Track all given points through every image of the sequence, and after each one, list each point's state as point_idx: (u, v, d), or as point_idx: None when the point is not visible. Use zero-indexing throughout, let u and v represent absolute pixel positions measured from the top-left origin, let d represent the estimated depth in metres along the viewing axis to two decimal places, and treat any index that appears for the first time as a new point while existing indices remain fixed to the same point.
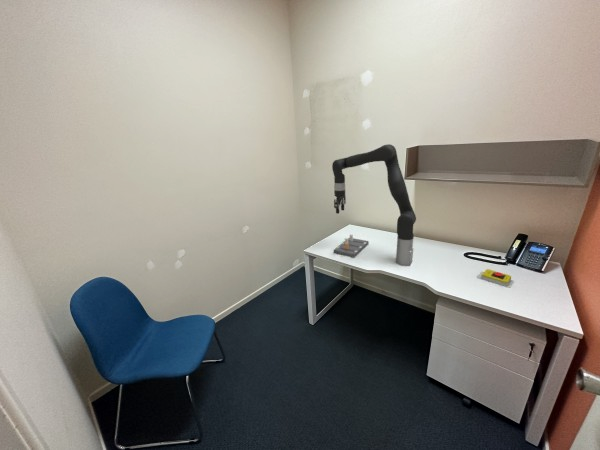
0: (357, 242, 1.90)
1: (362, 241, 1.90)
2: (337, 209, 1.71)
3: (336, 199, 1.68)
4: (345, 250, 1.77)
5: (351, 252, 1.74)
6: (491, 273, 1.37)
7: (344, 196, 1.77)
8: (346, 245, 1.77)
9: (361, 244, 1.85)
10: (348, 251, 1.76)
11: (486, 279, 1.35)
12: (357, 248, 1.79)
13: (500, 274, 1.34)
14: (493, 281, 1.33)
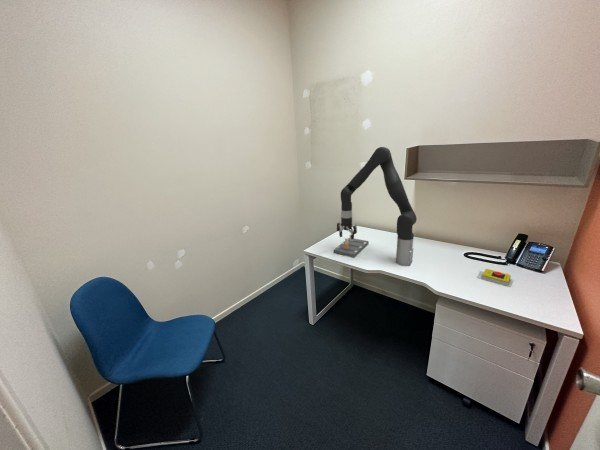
0: (357, 242, 1.90)
1: (362, 241, 1.90)
2: (353, 234, 1.72)
3: (355, 225, 1.69)
4: (345, 250, 1.77)
5: (351, 252, 1.74)
6: (491, 272, 1.38)
7: (340, 223, 1.77)
8: (346, 245, 1.77)
9: (361, 244, 1.85)
10: (348, 251, 1.76)
11: (487, 279, 1.35)
12: (357, 248, 1.79)
13: (500, 274, 1.34)
14: (493, 281, 1.33)
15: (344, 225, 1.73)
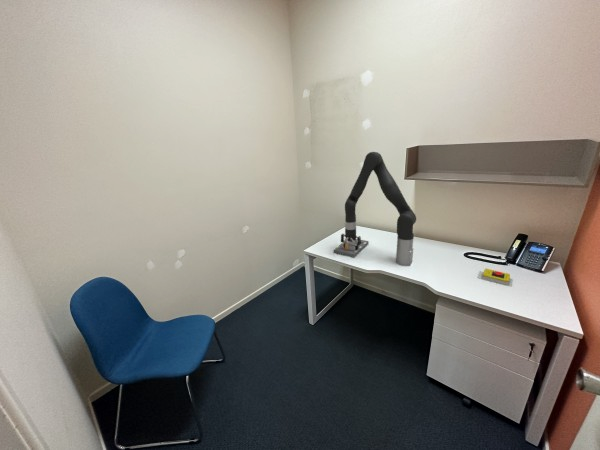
0: None
1: (362, 241, 1.90)
2: None
3: (359, 236, 1.70)
4: (345, 250, 1.77)
5: (351, 252, 1.74)
6: (491, 272, 1.38)
7: (344, 234, 1.77)
8: (346, 245, 1.77)
9: (361, 244, 1.85)
10: (348, 251, 1.76)
11: (487, 279, 1.35)
12: None
13: (500, 273, 1.34)
14: (494, 281, 1.33)
15: (348, 236, 1.73)
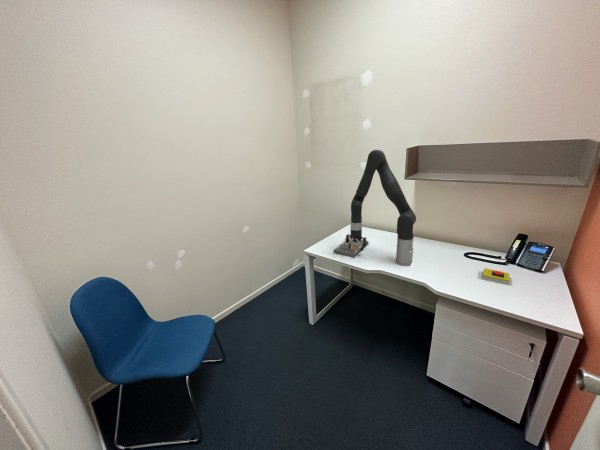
0: None
1: (362, 241, 1.90)
2: (363, 246, 1.71)
3: None
4: (345, 250, 1.77)
5: (351, 252, 1.74)
6: (490, 272, 1.38)
7: None
8: (351, 246, 1.75)
9: None
10: (348, 251, 1.76)
11: (488, 279, 1.35)
12: (357, 248, 1.79)
13: (500, 273, 1.35)
14: (495, 281, 1.34)
15: (353, 237, 1.71)
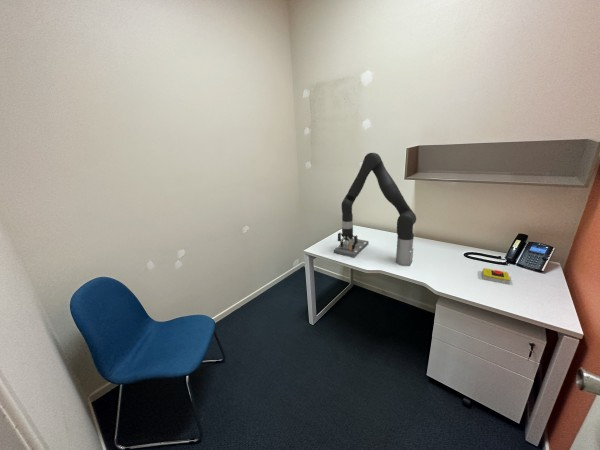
0: None
1: (362, 241, 1.90)
2: (354, 245, 1.74)
3: None
4: (345, 250, 1.77)
5: (351, 252, 1.74)
6: (490, 272, 1.39)
7: (340, 233, 1.79)
8: (351, 246, 1.75)
9: (361, 244, 1.85)
10: (348, 251, 1.76)
11: (488, 279, 1.35)
12: (357, 248, 1.79)
13: (500, 272, 1.35)
14: (495, 281, 1.34)
15: (345, 235, 1.74)
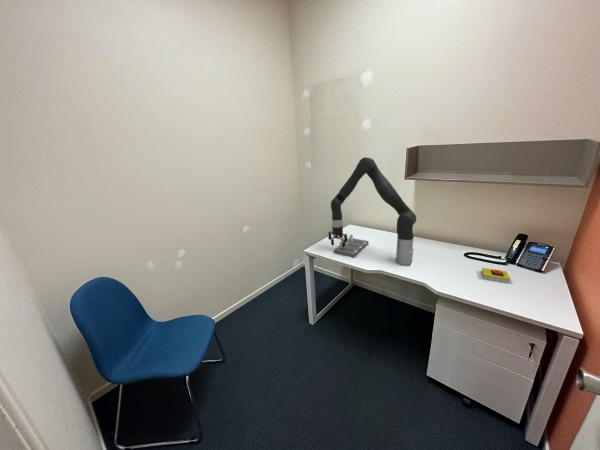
0: (357, 242, 1.90)
1: (362, 241, 1.90)
2: (344, 243, 1.78)
3: None
4: (345, 250, 1.77)
5: (351, 252, 1.74)
6: (489, 271, 1.39)
7: None
8: (341, 244, 1.79)
9: (361, 244, 1.85)
10: (348, 251, 1.76)
11: (489, 279, 1.36)
12: (357, 248, 1.79)
13: (499, 271, 1.36)
14: (496, 280, 1.34)
15: (335, 234, 1.79)
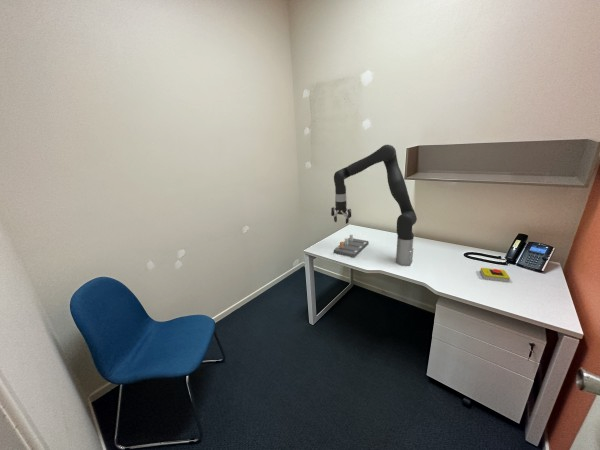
0: (357, 242, 1.90)
1: (362, 241, 1.90)
2: (348, 219, 1.71)
3: (349, 209, 1.68)
4: (345, 250, 1.77)
5: (351, 252, 1.74)
6: (489, 271, 1.39)
7: None
8: (341, 244, 1.79)
9: (361, 244, 1.85)
10: (348, 251, 1.76)
11: (489, 279, 1.36)
12: (357, 248, 1.79)
13: (498, 271, 1.37)
14: (496, 280, 1.35)
15: (338, 209, 1.71)
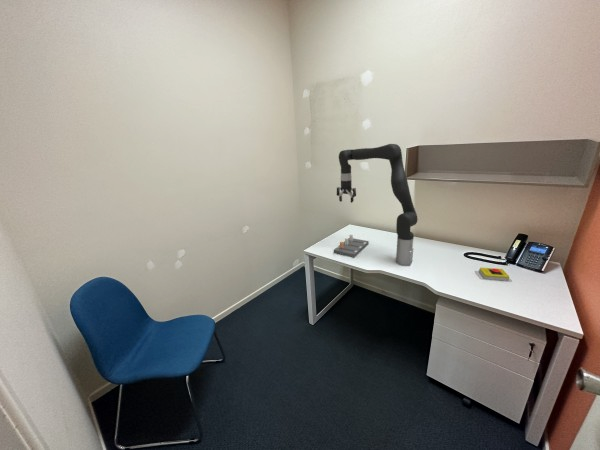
0: (357, 242, 1.90)
1: (362, 241, 1.90)
2: (353, 198, 1.77)
3: (354, 188, 1.74)
4: (345, 250, 1.77)
5: (351, 252, 1.74)
6: (488, 271, 1.40)
7: (339, 187, 1.81)
8: (341, 244, 1.79)
9: (361, 244, 1.85)
10: (348, 251, 1.76)
11: (490, 278, 1.36)
12: (357, 248, 1.79)
13: (497, 270, 1.37)
14: (496, 279, 1.35)
15: (344, 189, 1.77)
